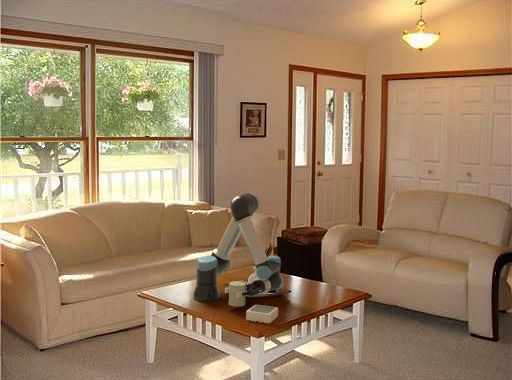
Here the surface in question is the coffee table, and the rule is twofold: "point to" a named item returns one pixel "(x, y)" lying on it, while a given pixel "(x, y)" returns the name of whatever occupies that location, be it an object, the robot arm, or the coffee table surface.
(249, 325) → the coffee table surface
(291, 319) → the coffee table surface
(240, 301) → the can
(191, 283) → the coffee table surface
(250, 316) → the stand
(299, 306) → the coffee table surface
